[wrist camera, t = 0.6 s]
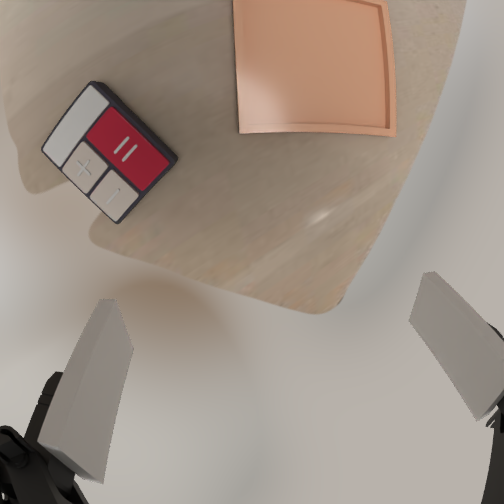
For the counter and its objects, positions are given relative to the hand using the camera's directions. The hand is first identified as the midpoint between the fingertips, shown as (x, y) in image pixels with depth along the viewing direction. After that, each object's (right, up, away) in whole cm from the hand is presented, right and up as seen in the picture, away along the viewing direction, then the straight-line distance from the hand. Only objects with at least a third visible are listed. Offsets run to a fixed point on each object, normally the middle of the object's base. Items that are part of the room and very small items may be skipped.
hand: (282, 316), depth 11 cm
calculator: (-19, +15, +20) cm, 32 cm away
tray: (+7, +26, +17) cm, 32 cm away
